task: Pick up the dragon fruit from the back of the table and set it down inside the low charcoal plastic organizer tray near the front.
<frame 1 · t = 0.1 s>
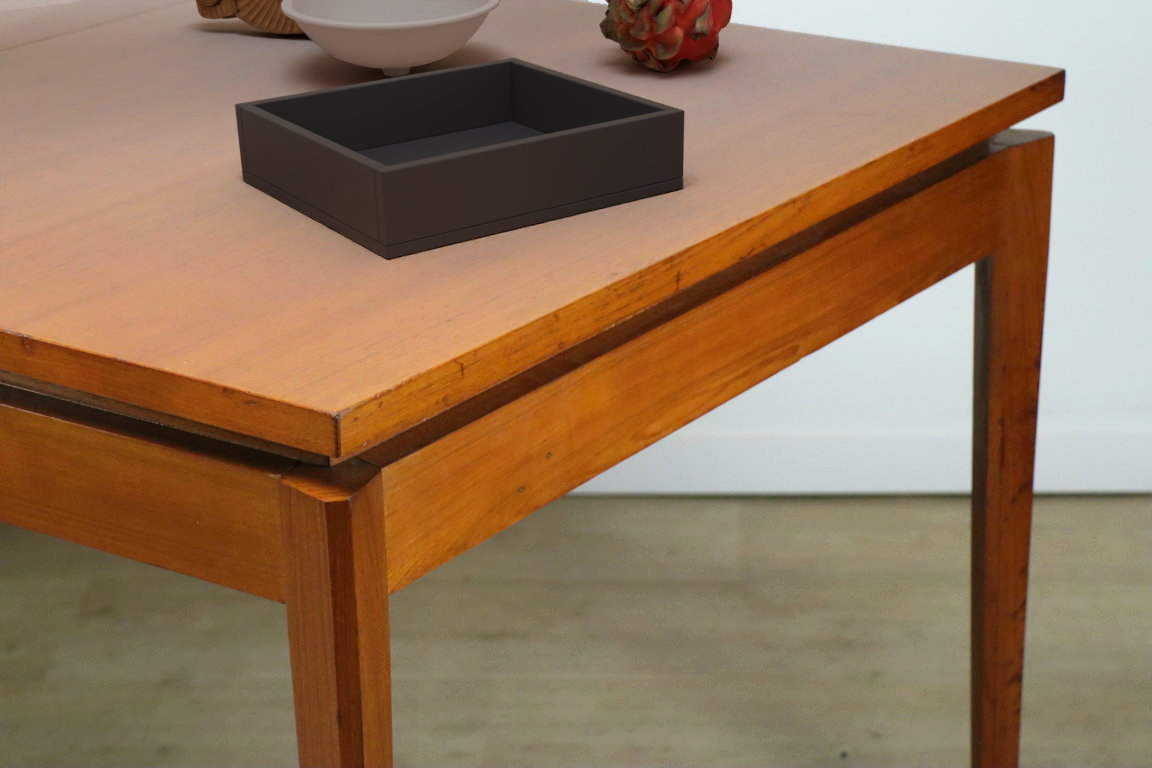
dish: (396, 76, 102), on the table
dragon fruit: (665, 66, 104), on the table
organizer: (460, 184, 79), on the table
wooden carving: (289, 37, 114), on the table
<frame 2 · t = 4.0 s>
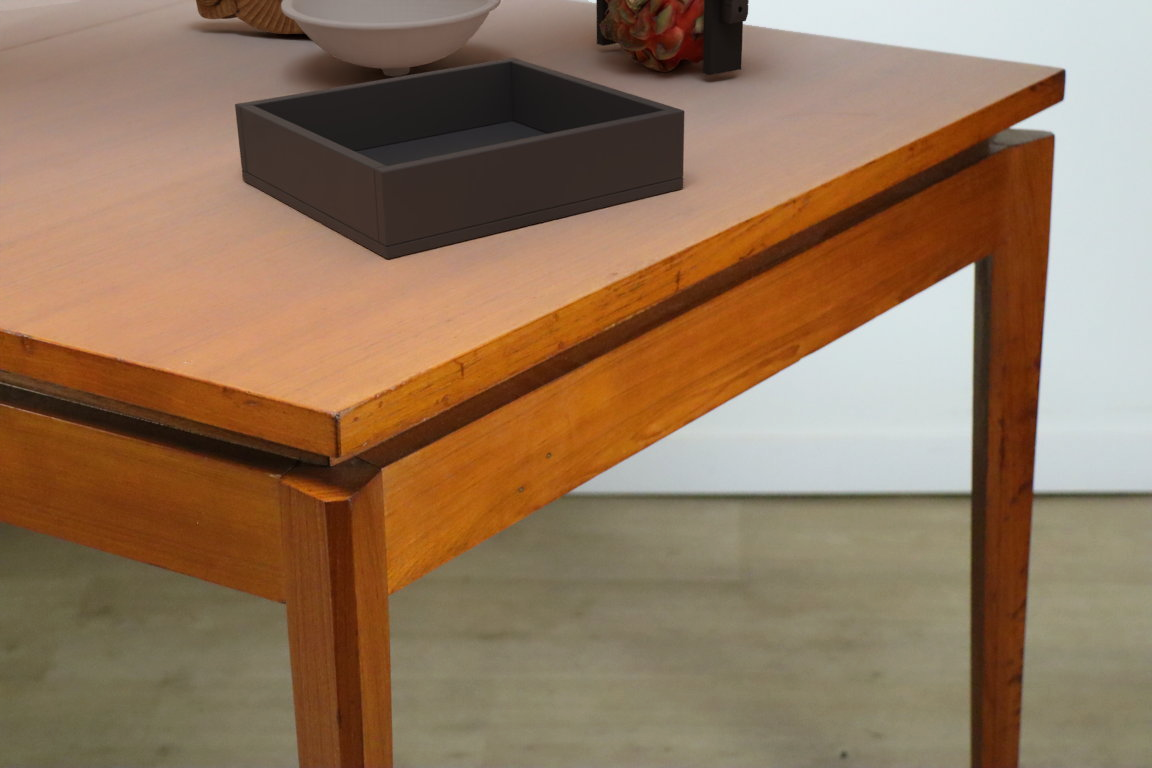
hand: (666, 56, 104), 1 cm above the table, tool pointing down, fingers closed on dragon fruit, 11 cm apart
dragon fruit: (665, 66, 104), on the table, touching gripper
everything else where it was.
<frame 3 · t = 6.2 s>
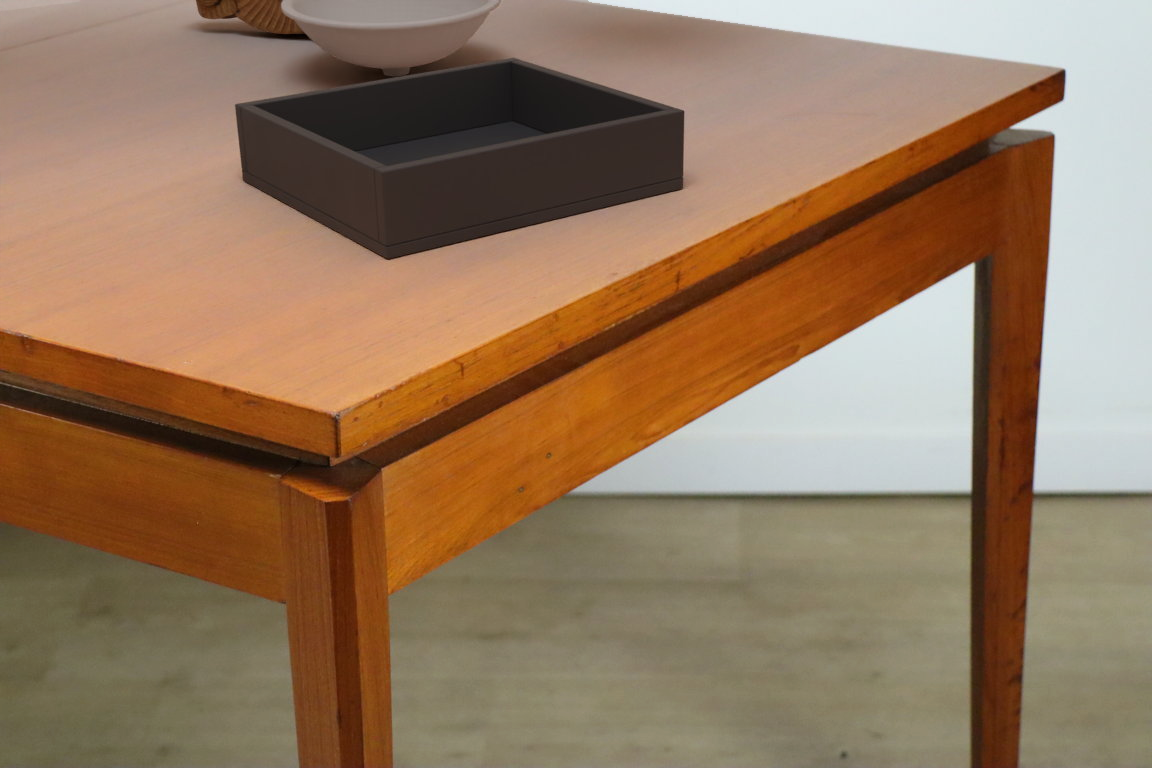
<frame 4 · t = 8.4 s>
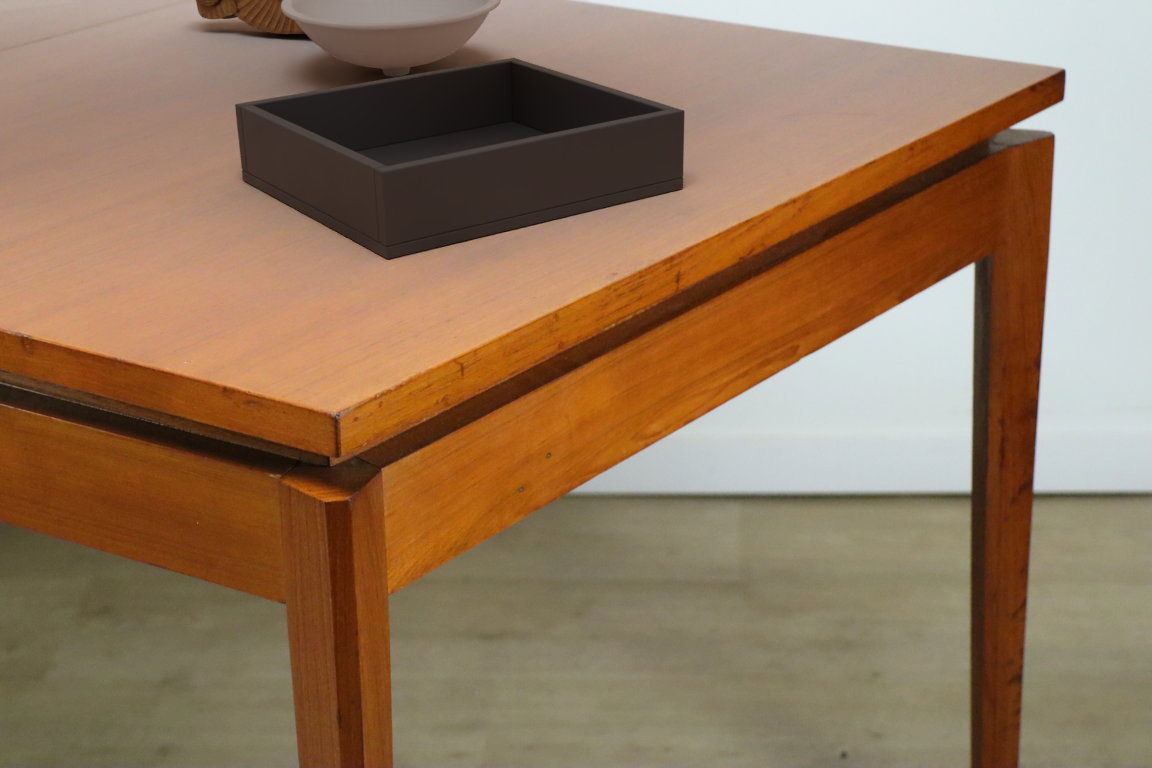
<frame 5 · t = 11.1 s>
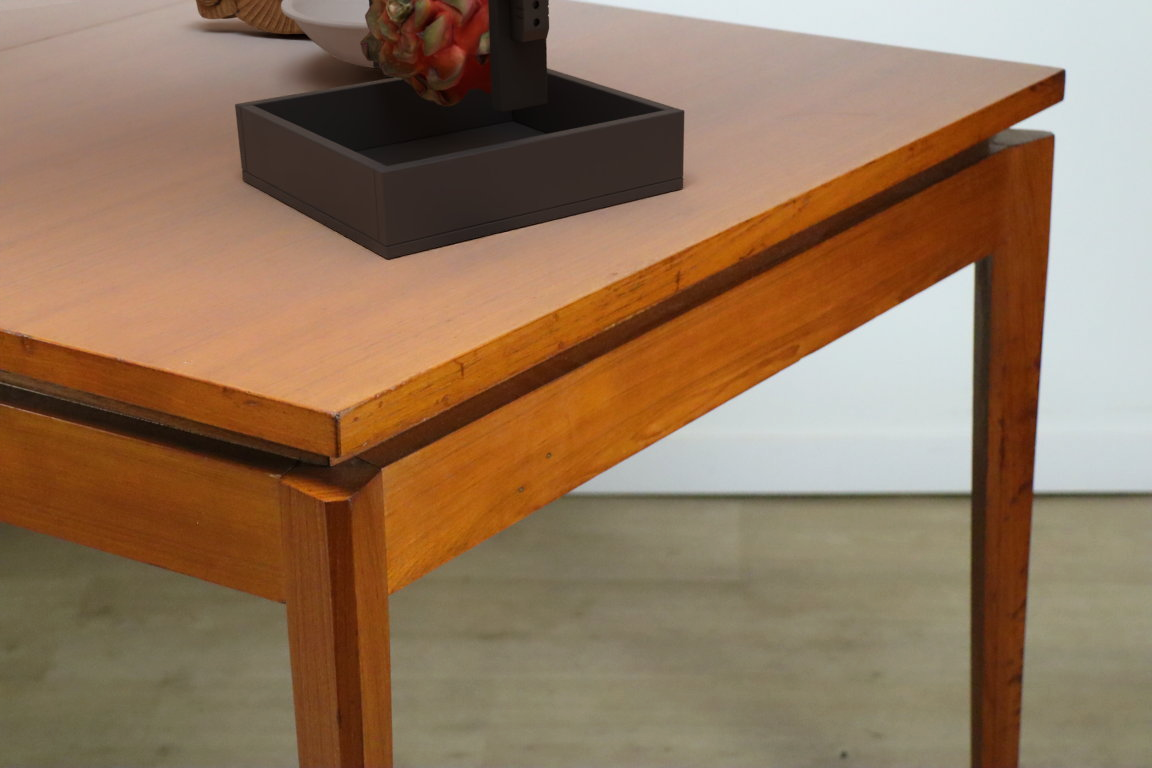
hand: (456, 84, 77), 5 cm above the table, tool pointing down, fingers closed on dragon fruit, 11 cm apart
dragon fruit: (456, 97, 77), point 5 cm above the table, touching gripper
everything else where it was.
when the fingers open (1 cm above the table, at t = 13.0 s): dragon fruit stays where it is, resting on organizer.
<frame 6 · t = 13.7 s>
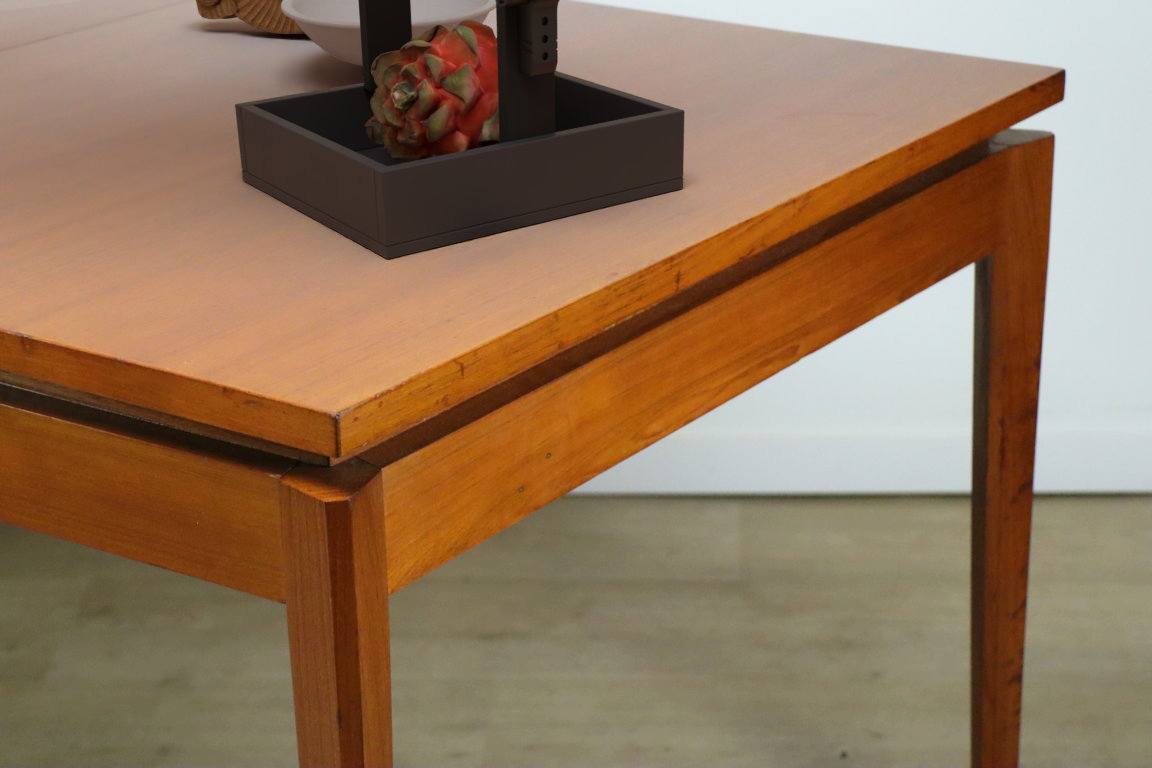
hand: (454, 112, 77), 4 cm above the table, tool pointing down, fingers open, 13 cm apart
dragon fruit: (459, 176, 79), resting on organizer
everything else where it was.
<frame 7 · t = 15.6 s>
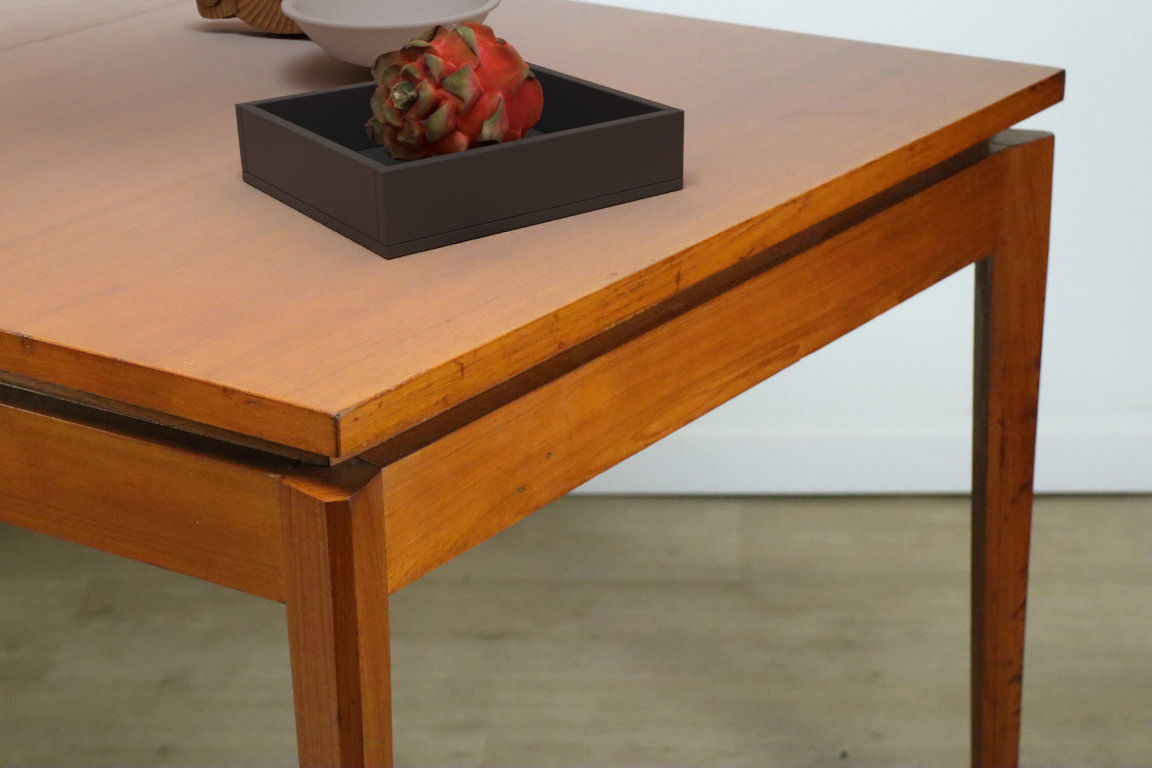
nothing on the table moved.
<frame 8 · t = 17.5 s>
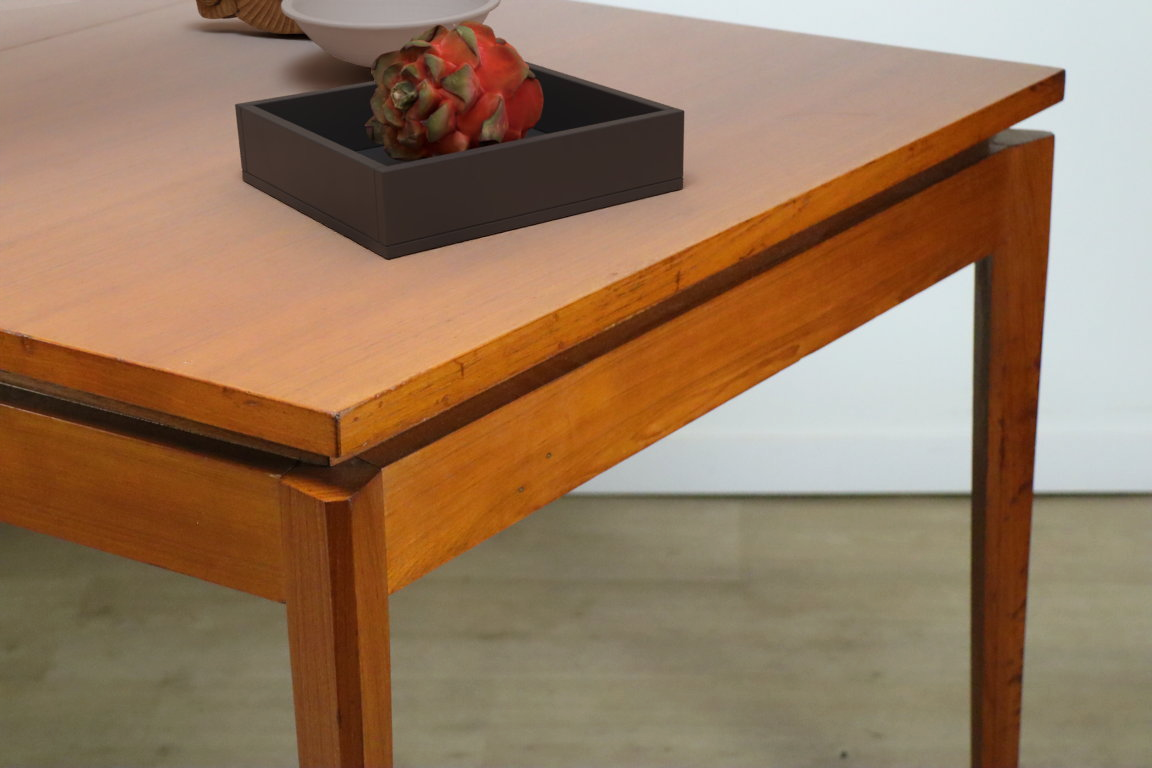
nothing on the table moved.
at the end: dragon fruit inside the target area in the organizer (0.0 cm from its centre), point 0.4 cm above the organizer's base; the gripper is holding nothing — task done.
